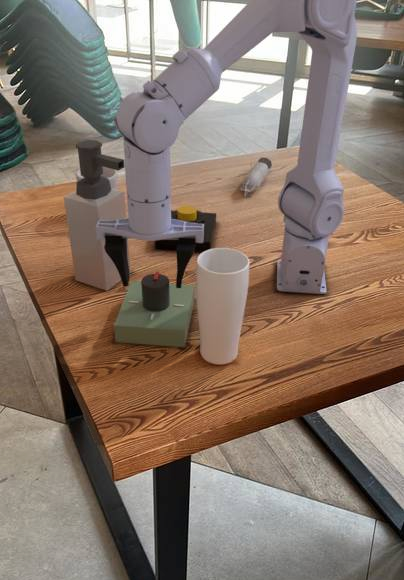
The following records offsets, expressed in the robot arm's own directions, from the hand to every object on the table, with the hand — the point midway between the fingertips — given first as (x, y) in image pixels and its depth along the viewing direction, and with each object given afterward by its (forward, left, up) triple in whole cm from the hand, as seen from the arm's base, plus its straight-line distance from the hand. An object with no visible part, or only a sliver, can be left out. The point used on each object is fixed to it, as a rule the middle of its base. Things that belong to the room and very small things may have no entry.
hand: (152, 283), depth 83 cm
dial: (-1, -1, -3) cm, 3 cm away
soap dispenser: (+10, +9, -6) cm, 15 cm away
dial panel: (-1, -1, -6) cm, 6 cm away
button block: (+27, -2, -6) cm, 28 cm away
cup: (+34, +16, -6) cm, 39 cm away
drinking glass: (-8, -11, -6) cm, 14 cm away
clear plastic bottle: (+54, -14, -6) cm, 56 cm away
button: (+27, -2, -2) cm, 27 cm away
